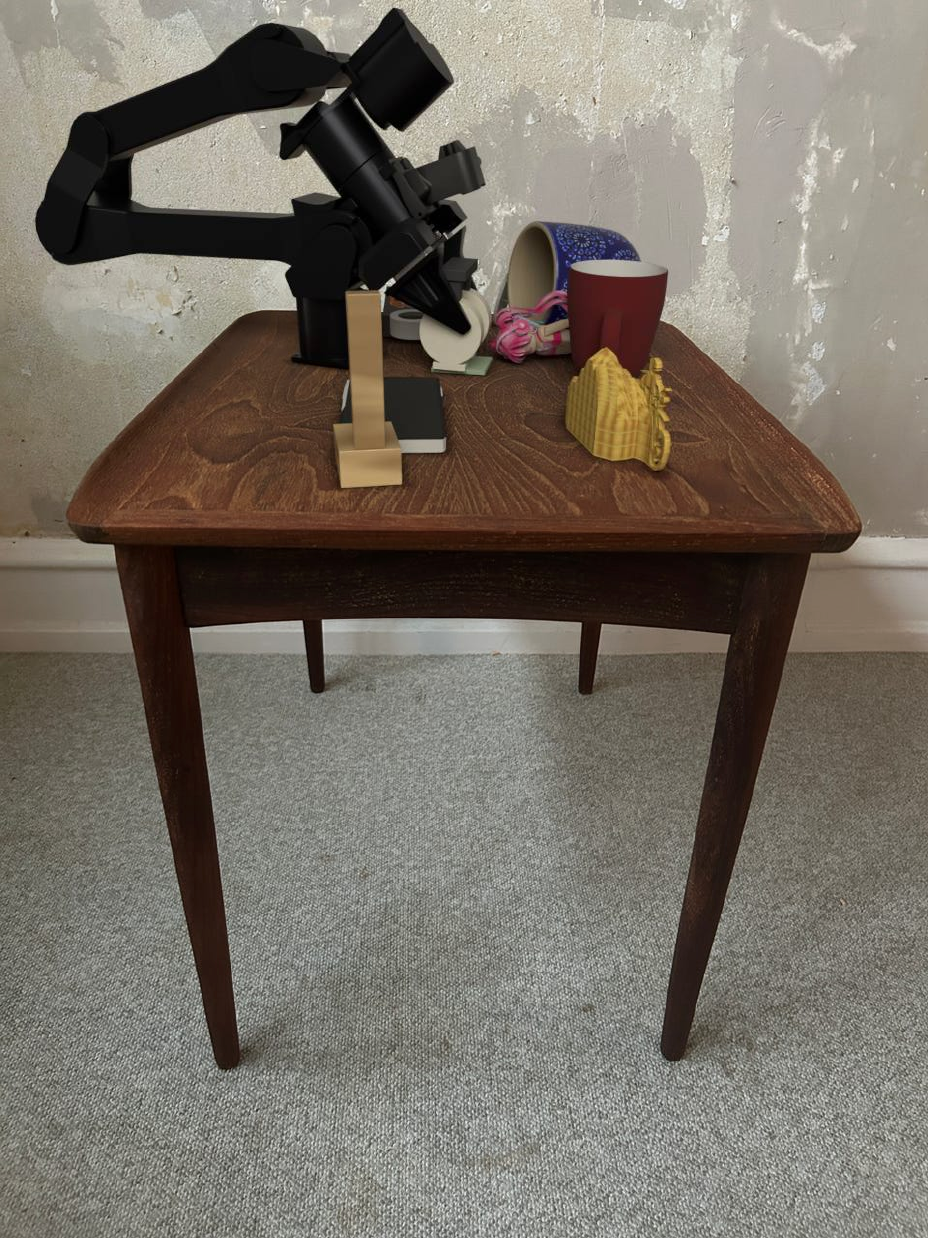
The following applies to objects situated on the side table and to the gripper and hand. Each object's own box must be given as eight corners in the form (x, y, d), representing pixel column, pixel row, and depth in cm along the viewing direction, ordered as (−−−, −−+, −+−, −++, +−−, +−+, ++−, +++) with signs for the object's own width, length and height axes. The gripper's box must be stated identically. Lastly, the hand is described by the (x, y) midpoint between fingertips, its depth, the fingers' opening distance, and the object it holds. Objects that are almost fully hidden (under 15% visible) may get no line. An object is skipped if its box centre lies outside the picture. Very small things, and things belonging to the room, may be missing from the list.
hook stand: (334, 454, 62) (323, 275, 55) (390, 451, 62) (385, 274, 56) (341, 488, 57) (329, 294, 50) (402, 484, 57) (398, 293, 51)
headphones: (418, 367, 79) (420, 267, 75) (433, 349, 85) (435, 255, 80) (479, 373, 79) (484, 272, 74) (490, 355, 84) (495, 260, 79)
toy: (630, 381, 88) (488, 382, 84) (616, 336, 90) (477, 335, 86) (661, 330, 81) (509, 328, 77) (645, 283, 83) (496, 278, 79)
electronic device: (381, 318, 87) (386, 281, 100) (382, 347, 89) (387, 308, 101) (448, 319, 88) (445, 282, 100) (448, 348, 89) (445, 309, 102)
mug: (663, 414, 71) (681, 284, 65) (563, 411, 71) (573, 281, 66) (646, 377, 80) (661, 260, 74) (558, 374, 80) (566, 258, 75)
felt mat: (431, 371, 80) (431, 367, 80) (441, 357, 84) (441, 353, 84) (484, 375, 79) (485, 371, 79) (492, 361, 84) (492, 356, 83)
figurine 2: (604, 419, 69) (614, 327, 65) (669, 476, 59) (685, 371, 56) (560, 422, 68) (567, 329, 65) (618, 480, 58) (630, 374, 55)
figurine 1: (489, 334, 96) (558, 357, 95) (497, 289, 91) (569, 312, 90) (506, 306, 99) (573, 328, 98) (514, 261, 94) (584, 283, 93)
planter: (635, 357, 91) (540, 355, 86) (588, 316, 98) (498, 313, 94) (668, 248, 84) (566, 240, 80) (614, 214, 92) (519, 205, 87)
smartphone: (333, 439, 61) (345, 376, 74) (334, 455, 62) (346, 390, 75) (448, 438, 62) (440, 376, 74) (448, 454, 62) (440, 390, 75)
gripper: (407, 104, 63) (534, 285, 68) (455, 101, 79) (555, 248, 84) (302, 207, 68) (427, 369, 73) (366, 184, 84) (466, 319, 89)
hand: (474, 321), depth 79 cm, fingers open, 7 cm apart
